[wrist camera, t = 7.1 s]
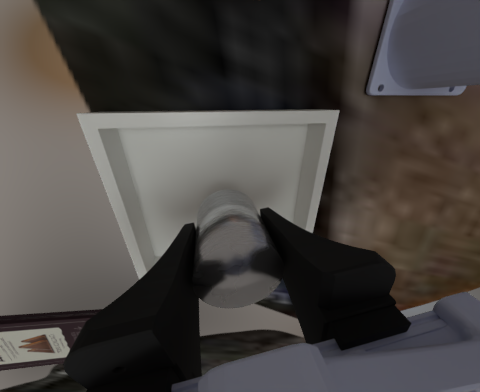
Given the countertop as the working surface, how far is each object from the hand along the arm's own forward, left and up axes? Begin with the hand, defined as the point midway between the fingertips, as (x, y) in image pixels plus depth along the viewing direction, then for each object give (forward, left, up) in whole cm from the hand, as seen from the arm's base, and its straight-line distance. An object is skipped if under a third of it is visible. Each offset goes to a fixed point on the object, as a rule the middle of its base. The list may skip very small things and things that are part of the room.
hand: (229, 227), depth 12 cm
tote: (0, 0, -5) cm, 5 cm away
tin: (0, 0, -1) cm, 1 cm away
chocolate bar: (+20, +18, -6) cm, 27 cm away
